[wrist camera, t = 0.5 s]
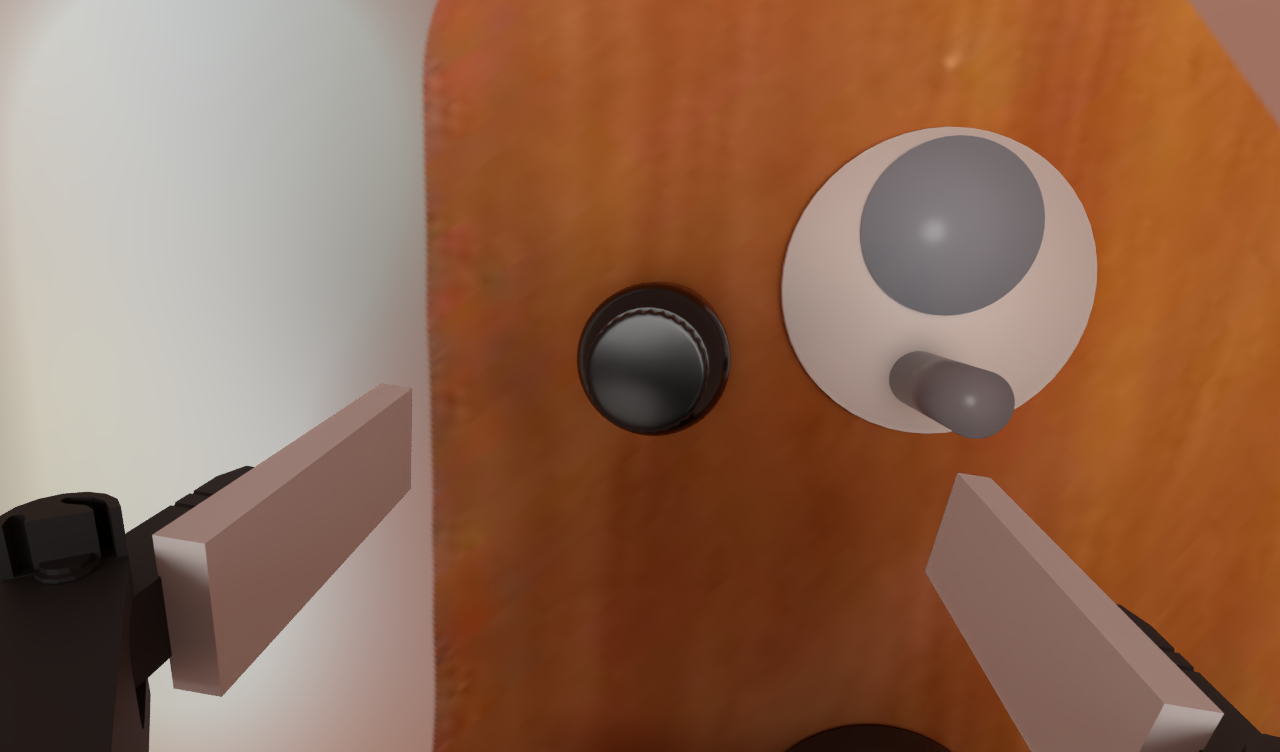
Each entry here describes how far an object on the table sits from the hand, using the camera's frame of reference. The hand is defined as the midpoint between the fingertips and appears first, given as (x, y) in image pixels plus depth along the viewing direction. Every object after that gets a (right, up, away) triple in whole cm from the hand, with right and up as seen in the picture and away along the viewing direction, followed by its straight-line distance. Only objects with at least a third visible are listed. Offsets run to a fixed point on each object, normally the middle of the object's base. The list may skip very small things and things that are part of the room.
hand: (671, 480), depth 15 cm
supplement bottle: (+1, +4, +20) cm, 21 cm away
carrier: (+15, +7, +19) cm, 25 cm away
